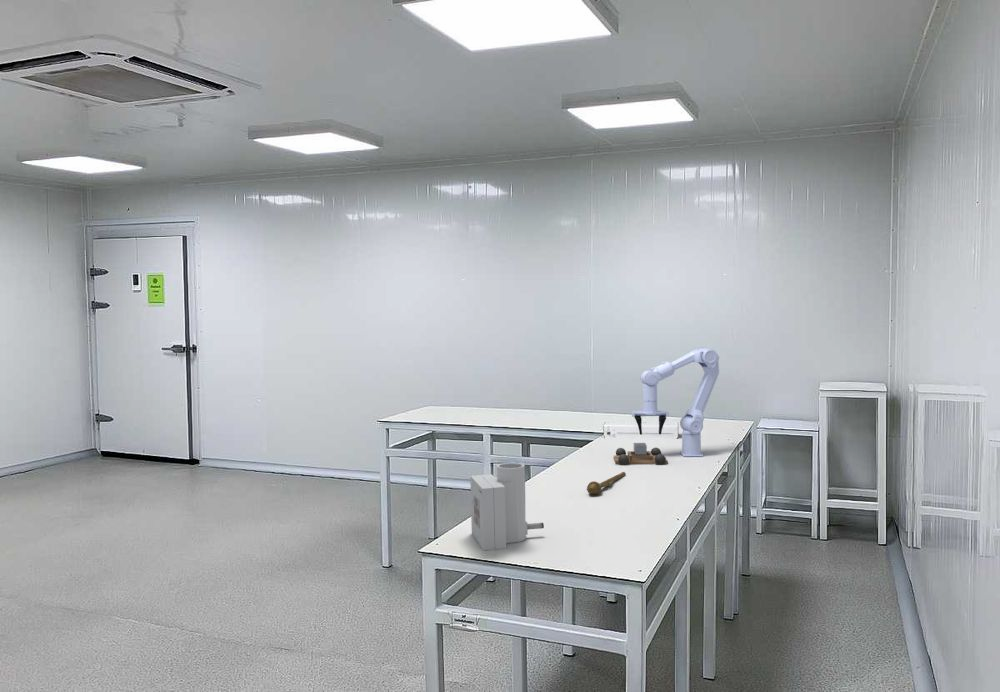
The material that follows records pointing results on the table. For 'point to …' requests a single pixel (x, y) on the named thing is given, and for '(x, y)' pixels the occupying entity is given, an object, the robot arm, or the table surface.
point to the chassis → (640, 457)
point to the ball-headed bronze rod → (602, 484)
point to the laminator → (633, 430)
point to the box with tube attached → (500, 507)
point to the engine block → (640, 449)
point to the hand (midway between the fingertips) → (650, 434)
